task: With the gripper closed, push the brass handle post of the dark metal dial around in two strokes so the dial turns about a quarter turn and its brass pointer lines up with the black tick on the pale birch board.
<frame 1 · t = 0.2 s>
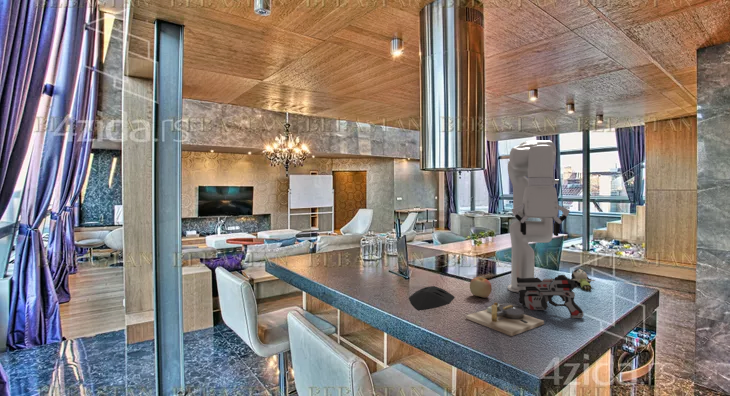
hand: (539, 235, 117), 31 cm above the counter, tool pointing down, fingers open, 9 cm apart
toy blaster: (547, 312, 133), on the counter
apple: (480, 297, 151), on the counter
toy: (582, 287, 166), on the counter
mask: (429, 301, 147), on the counter
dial: (505, 309, 123), point 4 cm above the counter, hinge at 0.0°
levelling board: (504, 321, 123), on the counter
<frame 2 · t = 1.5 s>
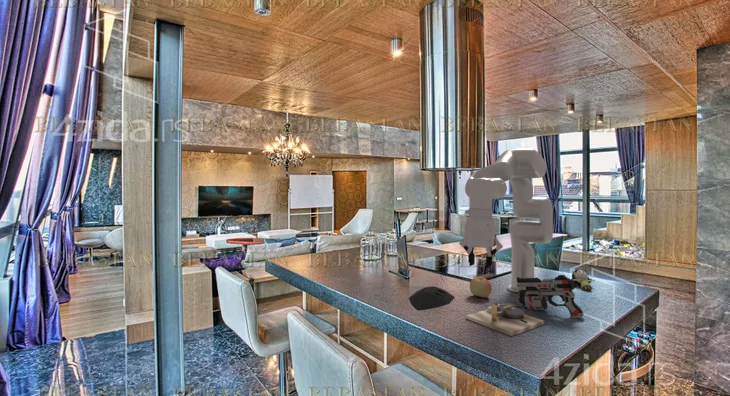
hand: (480, 265, 123), 19 cm above the counter, tool pointing down, fingers open, 5 cm apart
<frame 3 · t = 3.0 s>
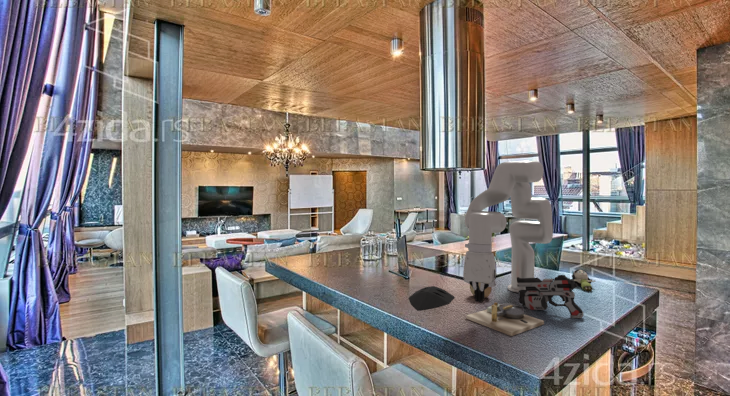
hand: (479, 301, 123), 7 cm above the counter, tool pointing down, fingers closed
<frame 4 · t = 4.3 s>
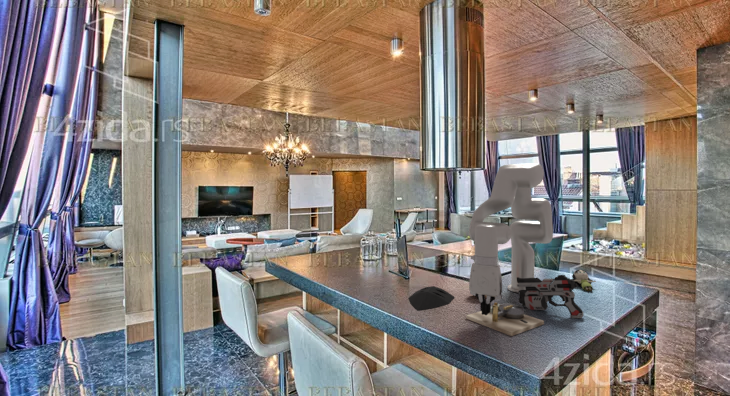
hand: (485, 313, 122), 3 cm above the counter, tool pointing down, fingers closed
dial: (506, 309, 123), point 4 cm above the counter, hinge at 1.8°, touching gripper
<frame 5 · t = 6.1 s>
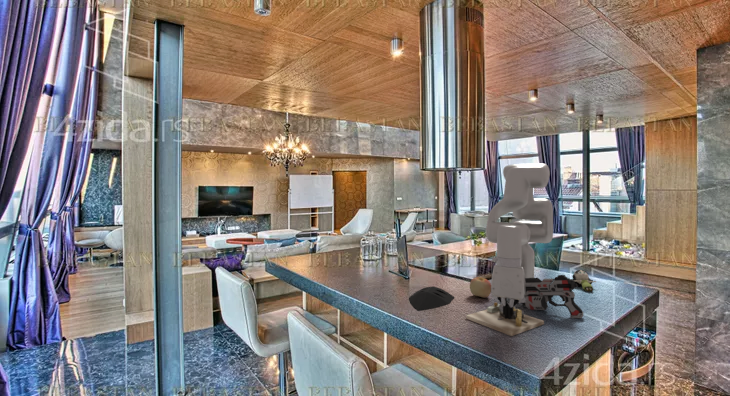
hand: (508, 317, 117), 3 cm above the counter, tool pointing down, fingers closed
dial: (513, 310, 122), point 4 cm above the counter, hinge at 47.6°, touching gripper
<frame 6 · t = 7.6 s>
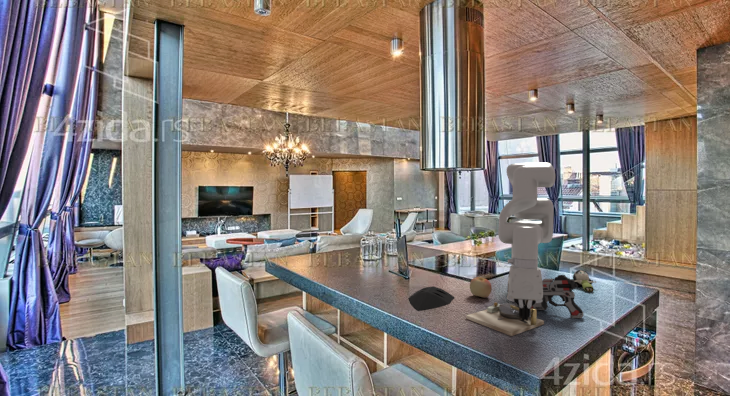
hand: (524, 318, 116), 3 cm above the counter, tool pointing down, fingers closed
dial: (518, 310, 122), point 4 cm above the counter, hinge at 79.3°, touching gripper
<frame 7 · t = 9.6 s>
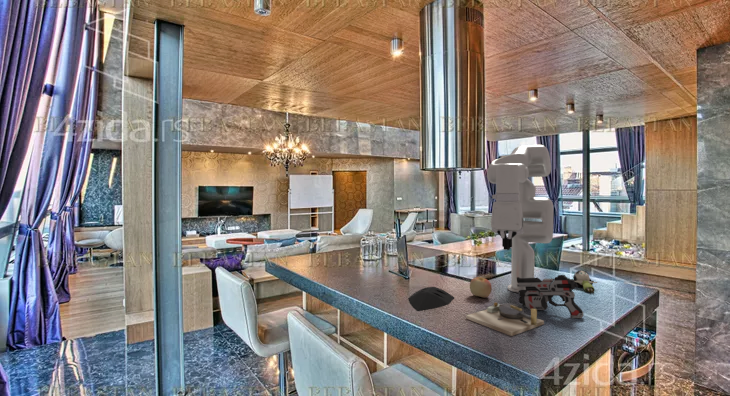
hand: (507, 249, 127), 24 cm above the counter, tool pointing down, fingers closed
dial: (518, 310, 122), point 4 cm above the counter, hinge at 79.8°
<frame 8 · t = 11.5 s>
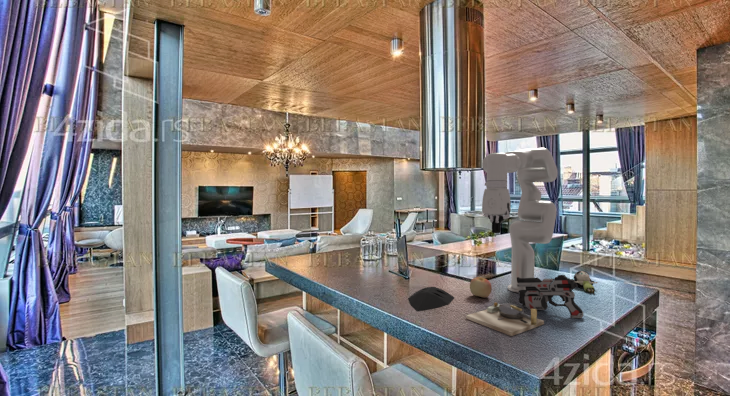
hand: (496, 232, 137), 29 cm above the counter, tool pointing down, fingers closed
at the end: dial at +80° (first picture: +0°) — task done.
